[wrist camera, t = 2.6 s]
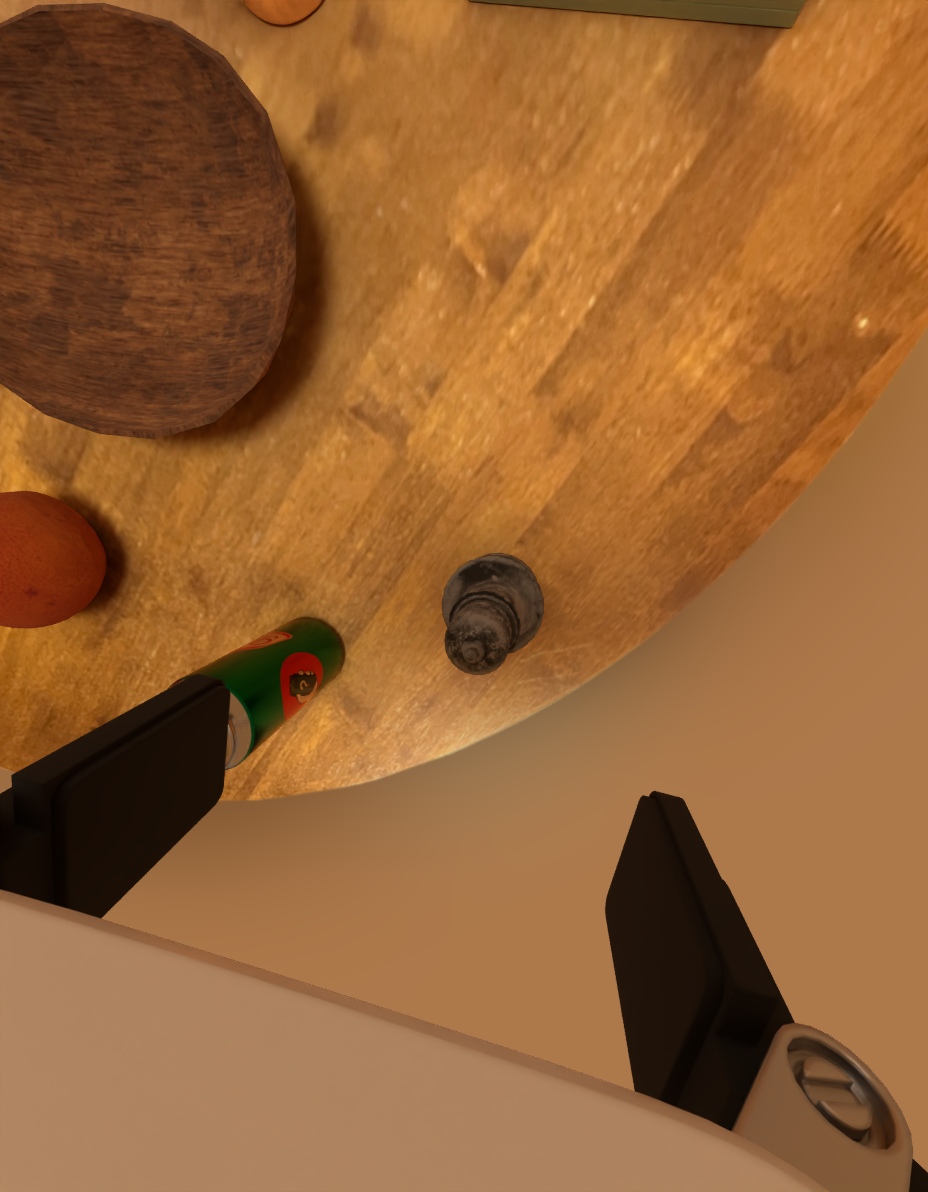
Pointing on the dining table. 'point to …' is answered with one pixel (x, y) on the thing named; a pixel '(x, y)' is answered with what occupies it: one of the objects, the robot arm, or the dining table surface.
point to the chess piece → (490, 612)
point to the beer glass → (282, 10)
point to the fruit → (45, 560)
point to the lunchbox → (685, 9)
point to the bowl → (136, 223)
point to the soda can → (273, 681)
